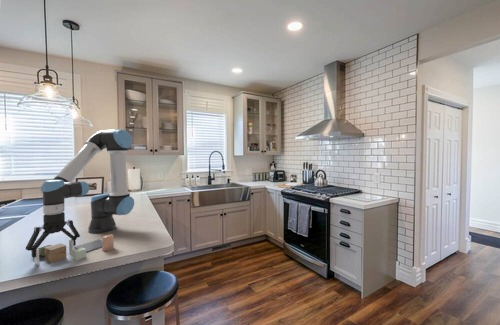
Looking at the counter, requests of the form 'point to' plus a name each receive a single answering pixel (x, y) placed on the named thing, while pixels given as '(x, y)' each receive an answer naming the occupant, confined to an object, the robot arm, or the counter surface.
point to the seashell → (42, 250)
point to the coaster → (91, 245)
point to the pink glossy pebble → (107, 242)
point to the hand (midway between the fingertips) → (55, 258)
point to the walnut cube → (55, 252)
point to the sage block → (79, 253)
